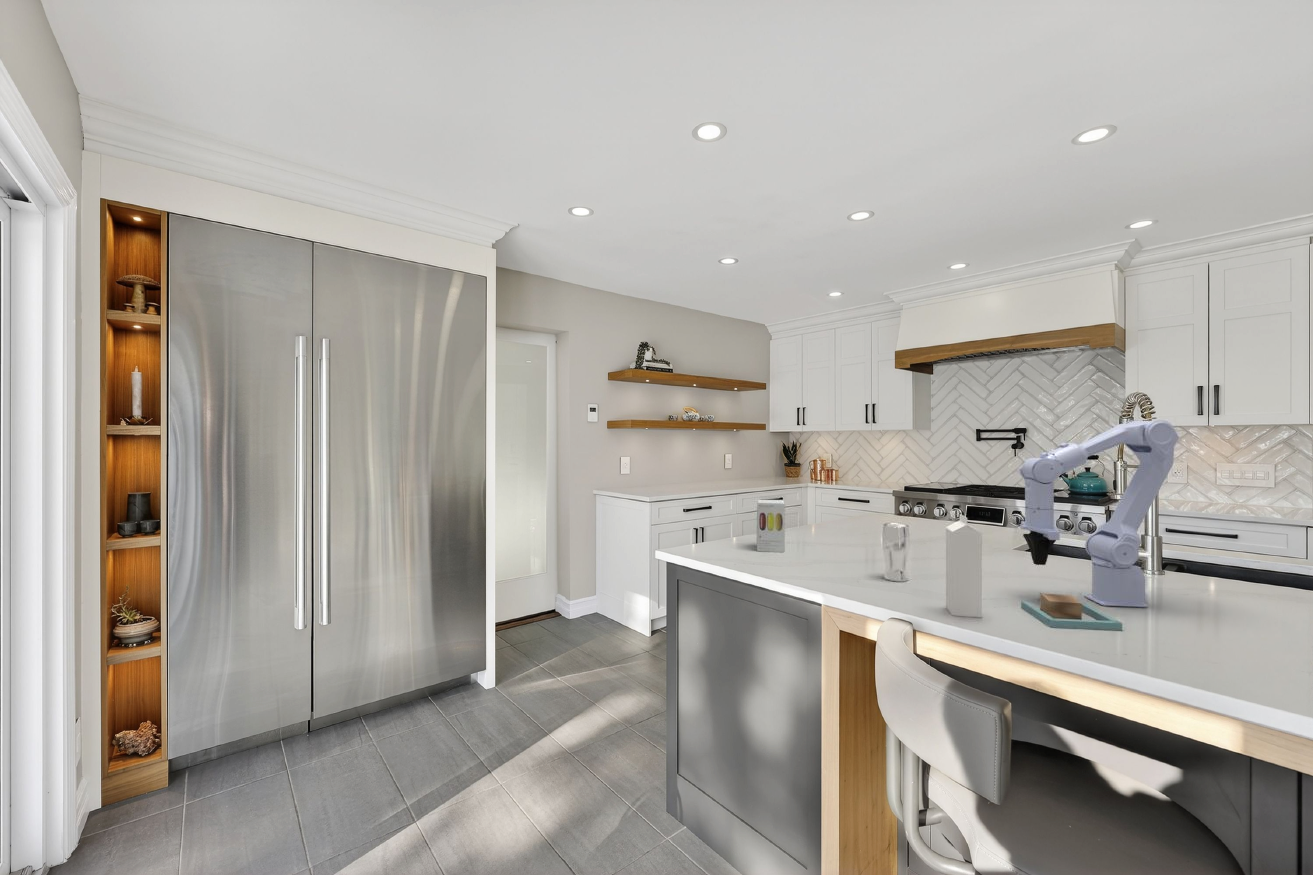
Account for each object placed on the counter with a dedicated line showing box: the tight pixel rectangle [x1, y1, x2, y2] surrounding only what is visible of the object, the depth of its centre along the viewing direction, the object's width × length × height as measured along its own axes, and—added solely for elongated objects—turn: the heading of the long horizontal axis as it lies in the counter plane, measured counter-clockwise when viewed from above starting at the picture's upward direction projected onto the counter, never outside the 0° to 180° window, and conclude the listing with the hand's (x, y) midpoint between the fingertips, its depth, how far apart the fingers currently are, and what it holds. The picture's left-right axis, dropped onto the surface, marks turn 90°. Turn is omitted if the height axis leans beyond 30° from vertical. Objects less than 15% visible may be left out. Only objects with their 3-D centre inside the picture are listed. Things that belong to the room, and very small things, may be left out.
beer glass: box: [881, 522, 911, 583], centre depth 158 cm, size 7×7×15 cm
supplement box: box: [756, 499, 786, 553], centre depth 198 cm, size 10×9×17 cm
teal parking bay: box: [1020, 600, 1123, 631], centre depth 125 cm, size 13×13×2 cm
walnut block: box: [1039, 593, 1083, 620], centre depth 127 cm, size 6×6×4 cm
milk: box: [945, 513, 983, 618], centre depth 129 cm, size 6×6×22 cm
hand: (1039, 564), depth 138 cm, fingers closed
